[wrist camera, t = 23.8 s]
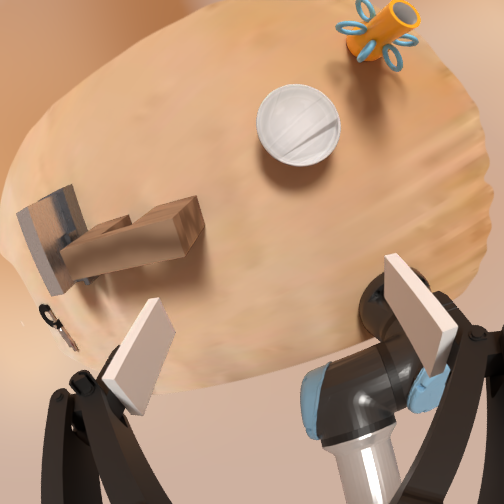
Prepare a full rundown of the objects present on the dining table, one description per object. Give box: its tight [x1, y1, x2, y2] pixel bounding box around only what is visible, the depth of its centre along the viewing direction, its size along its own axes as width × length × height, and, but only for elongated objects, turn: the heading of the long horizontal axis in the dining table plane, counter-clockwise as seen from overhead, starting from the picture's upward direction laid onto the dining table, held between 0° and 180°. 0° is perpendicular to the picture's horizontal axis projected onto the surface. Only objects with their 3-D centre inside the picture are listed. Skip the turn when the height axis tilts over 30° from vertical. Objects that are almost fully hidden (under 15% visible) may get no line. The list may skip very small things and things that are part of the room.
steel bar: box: [16, 194, 79, 296], centre depth 39 cm, size 16×4×8 cm, turn 14°
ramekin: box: [256, 84, 341, 167], centre depth 35 cm, size 11×11×5 cm
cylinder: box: [335, 0, 421, 72], centre depth 24 cm, size 12×10×15 cm
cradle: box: [39, 184, 99, 285], centre depth 43 cm, size 18×8×6 cm, turn 13°
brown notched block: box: [60, 196, 205, 280], centre depth 39 cm, size 5×20×12 cm, turn 103°
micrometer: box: [39, 304, 78, 351], centre depth 56 cm, size 15×7×2 cm, turn 19°
